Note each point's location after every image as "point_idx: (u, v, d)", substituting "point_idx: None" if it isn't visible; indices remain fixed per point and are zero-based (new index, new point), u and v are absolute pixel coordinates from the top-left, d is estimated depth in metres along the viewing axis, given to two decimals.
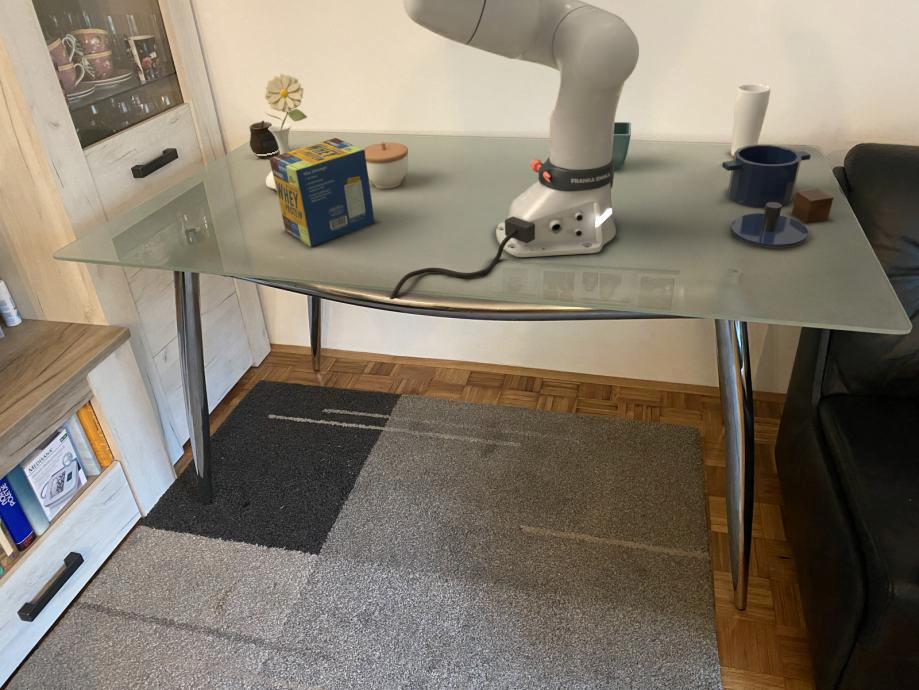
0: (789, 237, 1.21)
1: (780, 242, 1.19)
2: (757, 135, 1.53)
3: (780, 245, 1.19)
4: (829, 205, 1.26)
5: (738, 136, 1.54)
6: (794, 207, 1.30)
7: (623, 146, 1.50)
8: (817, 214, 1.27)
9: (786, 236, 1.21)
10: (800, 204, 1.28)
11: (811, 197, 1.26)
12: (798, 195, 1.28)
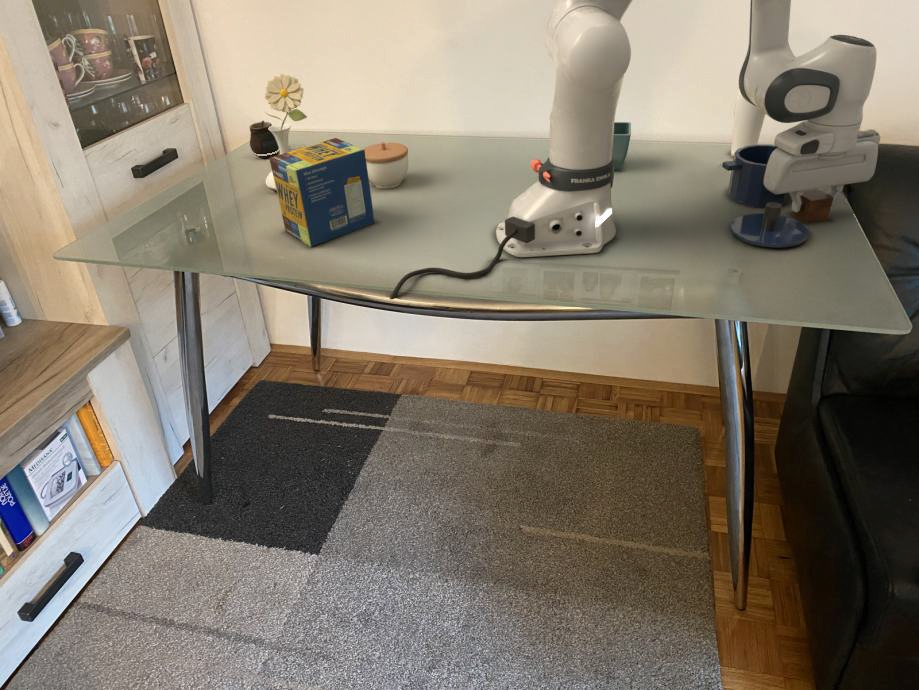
0: (789, 237, 1.21)
1: (780, 242, 1.19)
2: (757, 135, 1.53)
3: (780, 245, 1.19)
4: (829, 205, 1.26)
5: (738, 136, 1.54)
6: None
7: (623, 146, 1.50)
8: (817, 214, 1.27)
9: (786, 236, 1.21)
10: None
11: (811, 197, 1.26)
12: None
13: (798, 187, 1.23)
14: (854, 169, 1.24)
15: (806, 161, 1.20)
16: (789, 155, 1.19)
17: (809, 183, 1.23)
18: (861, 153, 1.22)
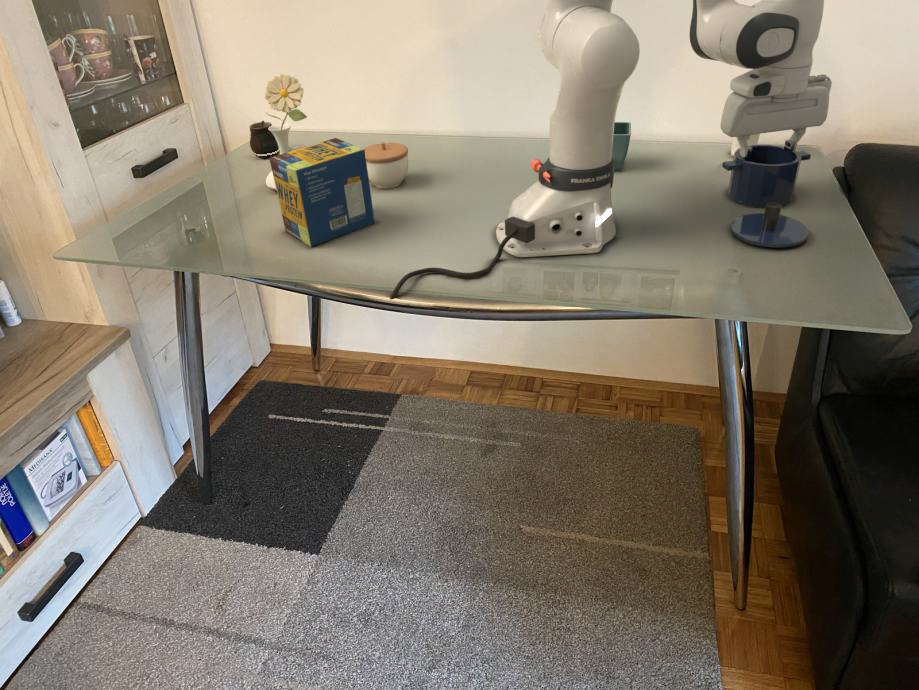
0: (789, 237, 1.21)
1: (780, 242, 1.19)
2: (757, 135, 1.53)
3: (780, 245, 1.19)
4: None
5: None
6: None
7: (623, 146, 1.50)
8: None
9: (786, 236, 1.21)
10: None
11: None
12: None
13: (753, 130, 1.29)
14: (807, 113, 1.29)
15: (760, 104, 1.26)
16: (743, 98, 1.25)
17: (764, 126, 1.28)
18: (813, 97, 1.27)
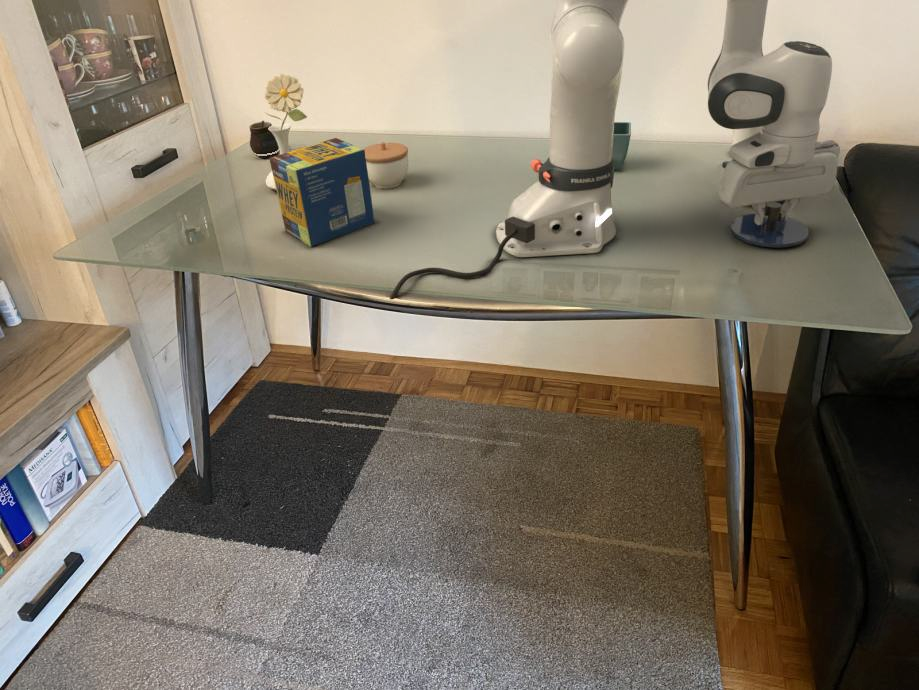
0: (789, 237, 1.21)
1: (780, 242, 1.19)
2: None
3: (780, 245, 1.19)
4: None
5: (738, 136, 1.54)
6: None
7: (623, 146, 1.50)
8: None
9: (786, 236, 1.21)
10: None
11: None
12: None
13: (754, 200, 1.18)
14: (813, 182, 1.19)
15: (762, 173, 1.15)
16: (744, 167, 1.14)
17: (766, 195, 1.18)
18: (820, 165, 1.17)
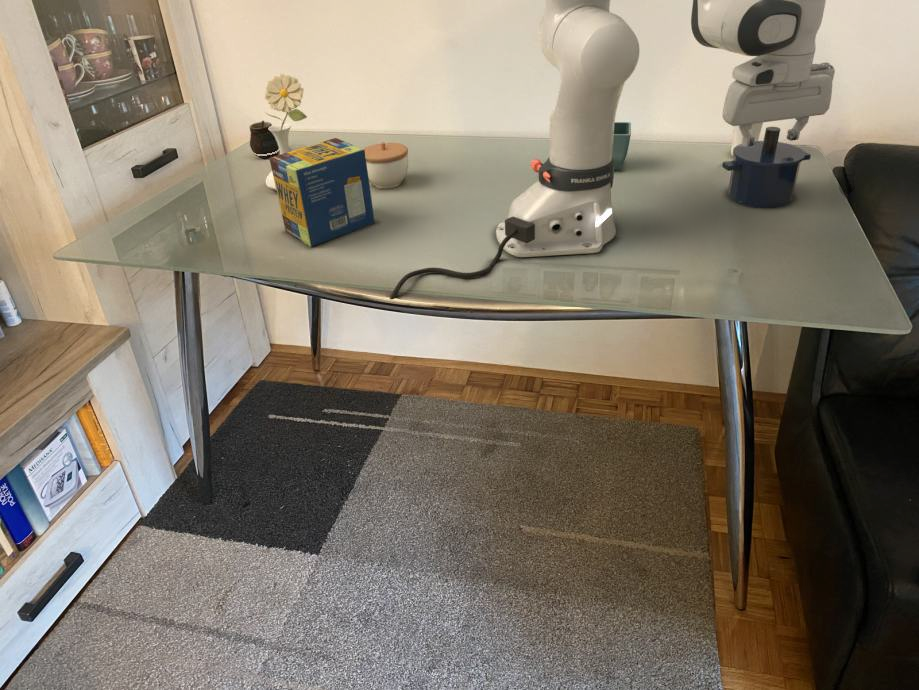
0: (787, 158, 1.30)
1: (779, 162, 1.29)
2: (757, 135, 1.53)
3: (779, 164, 1.28)
4: None
5: (738, 136, 1.54)
6: None
7: (623, 146, 1.50)
8: None
9: (784, 157, 1.31)
10: None
11: None
12: None
13: (755, 119, 1.27)
14: (810, 102, 1.28)
15: (762, 92, 1.25)
16: (745, 86, 1.23)
17: (766, 114, 1.27)
18: (816, 85, 1.26)
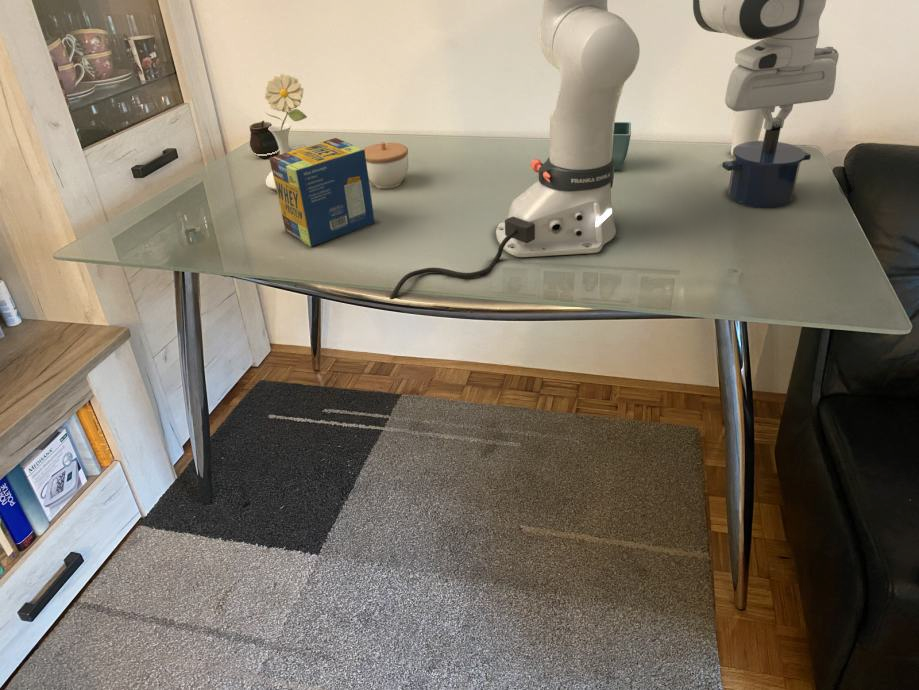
0: (787, 158, 1.30)
1: (779, 162, 1.29)
2: (757, 135, 1.53)
3: (779, 164, 1.28)
4: None
5: (738, 136, 1.54)
6: None
7: (623, 146, 1.50)
8: None
9: (784, 157, 1.31)
10: None
11: None
12: None
13: (758, 104, 1.26)
14: (814, 87, 1.26)
15: (765, 77, 1.23)
16: (748, 70, 1.22)
17: (769, 100, 1.26)
18: (820, 70, 1.25)
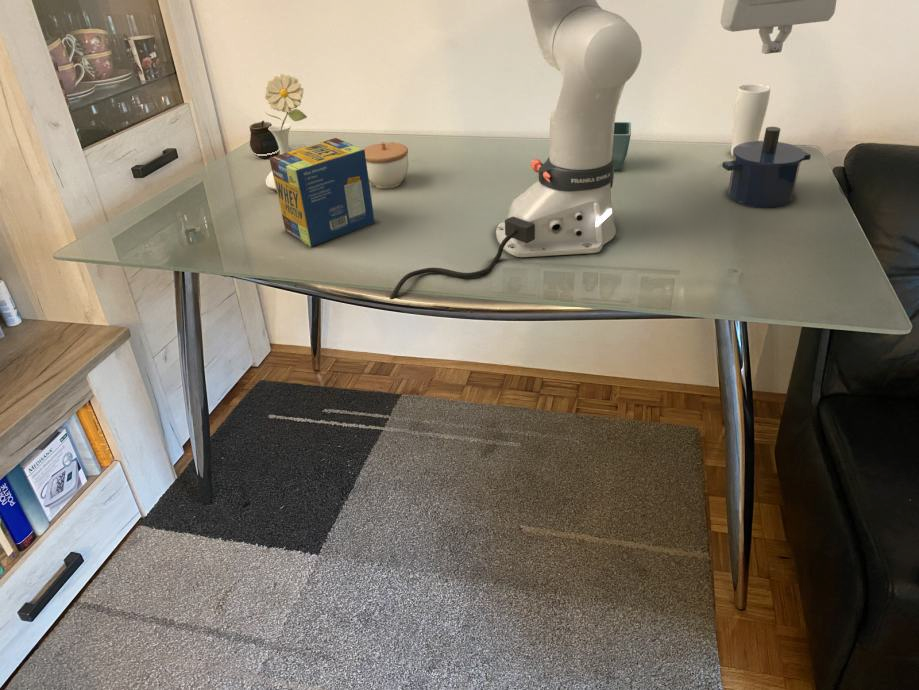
0: (787, 158, 1.30)
1: (779, 162, 1.29)
2: (757, 135, 1.53)
3: (779, 164, 1.28)
4: None
5: (738, 136, 1.54)
6: None
7: (623, 146, 1.50)
8: None
9: (784, 157, 1.31)
10: None
11: None
12: None
13: (756, 23, 1.20)
14: (814, 6, 1.20)
15: None
16: None
17: (767, 19, 1.20)
18: None
